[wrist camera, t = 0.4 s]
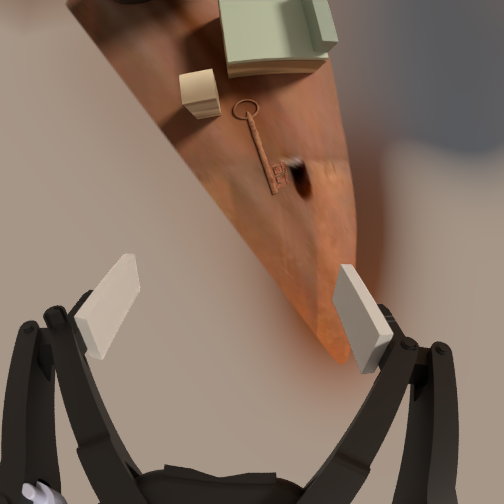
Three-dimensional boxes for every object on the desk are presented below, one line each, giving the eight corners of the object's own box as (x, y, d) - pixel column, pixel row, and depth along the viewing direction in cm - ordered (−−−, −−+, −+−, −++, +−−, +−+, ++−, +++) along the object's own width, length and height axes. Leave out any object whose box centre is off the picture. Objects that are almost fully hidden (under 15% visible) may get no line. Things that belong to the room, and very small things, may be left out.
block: (194, 97, 34) (178, 75, 23) (218, 93, 34) (211, 68, 23) (197, 119, 35) (182, 104, 24) (221, 115, 35) (216, 98, 24)
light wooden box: (219, 16, 29) (217, -2, 24) (300, 12, 29) (310, -4, 24) (228, 78, 33) (227, 65, 28) (314, 72, 34) (326, 61, 28)
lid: (218, -2, 23) (216, -21, 19) (310, -5, 24) (319, -21, 19) (228, 64, 28) (227, 50, 23) (326, 60, 28) (340, 47, 23)
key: (297, 185, 40) (267, 93, 35) (299, 185, 40) (268, 92, 34) (262, 197, 40) (229, 104, 35) (263, 198, 39) (230, 102, 34)
